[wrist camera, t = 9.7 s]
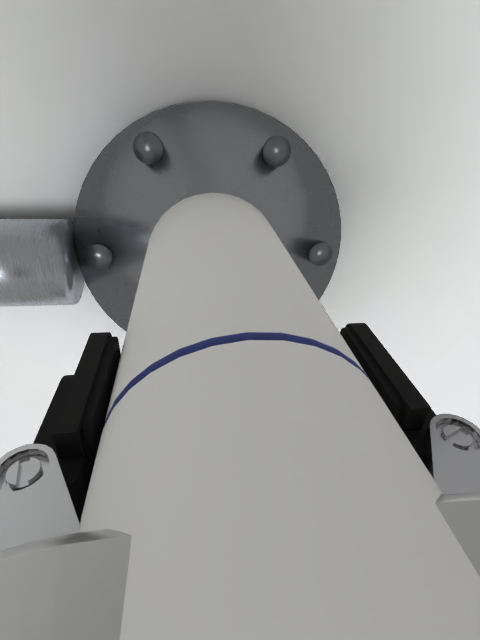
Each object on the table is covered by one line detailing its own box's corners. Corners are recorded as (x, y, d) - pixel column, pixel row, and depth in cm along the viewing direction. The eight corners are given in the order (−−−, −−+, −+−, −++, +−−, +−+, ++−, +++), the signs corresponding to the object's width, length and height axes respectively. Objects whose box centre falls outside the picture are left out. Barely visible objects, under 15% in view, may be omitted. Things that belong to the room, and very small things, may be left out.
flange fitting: (357, 106, 19) (414, 111, 14) (314, 343, 27) (342, 396, 22) (-148, 85, 16) (-290, 81, 11) (-28, 357, 24) (-81, 423, 19)
